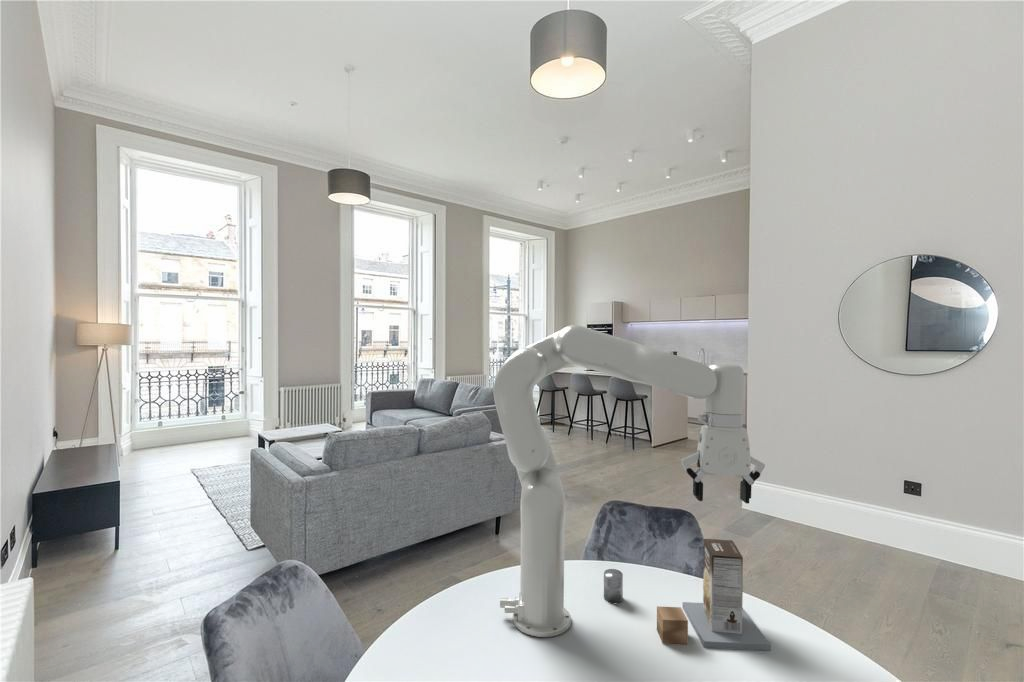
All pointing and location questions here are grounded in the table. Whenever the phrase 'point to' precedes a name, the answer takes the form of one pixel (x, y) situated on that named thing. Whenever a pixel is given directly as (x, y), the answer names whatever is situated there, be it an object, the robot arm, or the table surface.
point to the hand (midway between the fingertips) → (721, 500)
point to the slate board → (708, 638)
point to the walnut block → (672, 625)
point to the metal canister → (613, 585)
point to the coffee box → (723, 585)
